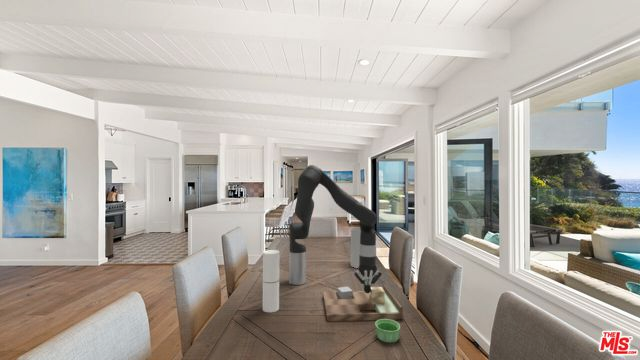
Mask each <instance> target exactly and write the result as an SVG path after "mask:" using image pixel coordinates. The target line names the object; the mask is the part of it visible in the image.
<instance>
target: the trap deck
mask: <svg viewBox="0 0 640 360" xmlns="http://www.w3.org/2000/svg"><path fill="white" fill-rule="evenodd" d="M383 290H384V291H385V304H372V303H371V301H370V299H369V293H365V291H364V290H353V299H337V290H336V291H335V290H334V291H332V290H331V291H327V290H326V291H325V290H324V291H322V298H323V304H324V305H323V306H324V308H325V309H324V310H325V316H326V321H327V322H343V321H344V322H345V321H346V322H347V321H349V322H350V321H351V322H352V321H377V320H379V319H390V320H394V321H396V320H397V319H403V314H404V313H403V309H404V308H403V306H402V305H401V303H400V302H399V301H398V300H397V298H396V297H395V296H394V294H393V293H392V292H391V291H390V289H389V288H388V287H387V285H383ZM361 311H375V312H361ZM403 320H404V319H403Z"/></svg>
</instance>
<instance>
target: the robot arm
mask: <svg viewBox="0 0 640 360" xmlns="http://www.w3.org/2000/svg"><path fill="white" fill-rule="evenodd" d="M319 185H322V187H324V188H325V189H326V191H328V193H329V194H330V196H331V198H332V199H333V201H334V203H335V204H336V205H337V206H338V207H340V209H342V210H344V211H345V212H346V213H348V214H349V215H351V216H352V217H354V218H355V219H356V220H357V221H359V227H360V230H361V233H360V248H359V267H358V269H356V270H354V271H353V274H354V276H355V277H356V279H358V281H359V283H360V284H362V285H363V291H365V293H369V292H370V291H371V287H372V285H375V284H376V282H377V281H378V280H379V279H380V278H381V276H382V271H380V270H378V268H377V234H376V231H375V229H376V228H375V226H376V225H375V224H376V223H377V221H378V216H377V213H375V211H373V210H371V209H370V208H369V207H367V206H365V205H363V204H362V203H361V202H360V201H359V200H357V199H356V198H355V197H353V196H352V195H350V194H349V193H348V192H346V191H345V190H343V188H341V187H340V186H339V185H338V184H337V183H336V182H335V181H334V180H333V179H332V178H331V177H330V176H329V175H328V174H326V172H324V170H322V169H321V168H320V167H318V165H317V166H316V165H314V164H311V165H308V166H307V167H305V169H304V170H303V171H302V172H301V173H300V175H299V176H298V180H297V197H296V201H295V202H296V203H295V206H294V207H295V209H294V214H295V215H296V217H297V219H298V220H299V221H301V222H291V223H289V226H288V227H289V228H288V235H289V259H288V260H289V261H288V263H289V265H288V285H294V286H298V285H304V284H306V280H307V246H305V245H304V244H302V243H300V242H298V241H296V240H306V239H307V238H308V237H309V234H310V226H311V220H312V216H313V212H314V209H315V201H314V199H313V195H314V193H315V191H316V188H317V187H318V186H319ZM360 275H361V276H362V277H361V276H360Z"/></svg>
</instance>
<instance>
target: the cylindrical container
mask: <svg viewBox="0 0 640 360" xmlns="http://www.w3.org/2000/svg"><path fill="white" fill-rule="evenodd" d="M279 309H280V250H278V249H269V250H264V251H263V253H262V311H263V312H264V313H274V312H277V311H279Z"/></svg>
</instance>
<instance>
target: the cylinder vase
mask: <svg viewBox="0 0 640 360" xmlns="http://www.w3.org/2000/svg"><path fill="white" fill-rule="evenodd" d="M360 233H361V230H360V226H359V227H357V226H356V227H351V228H350V267H352V268H353V267H354V268H353V269H357V268H358V267H359V248H360Z"/></svg>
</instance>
